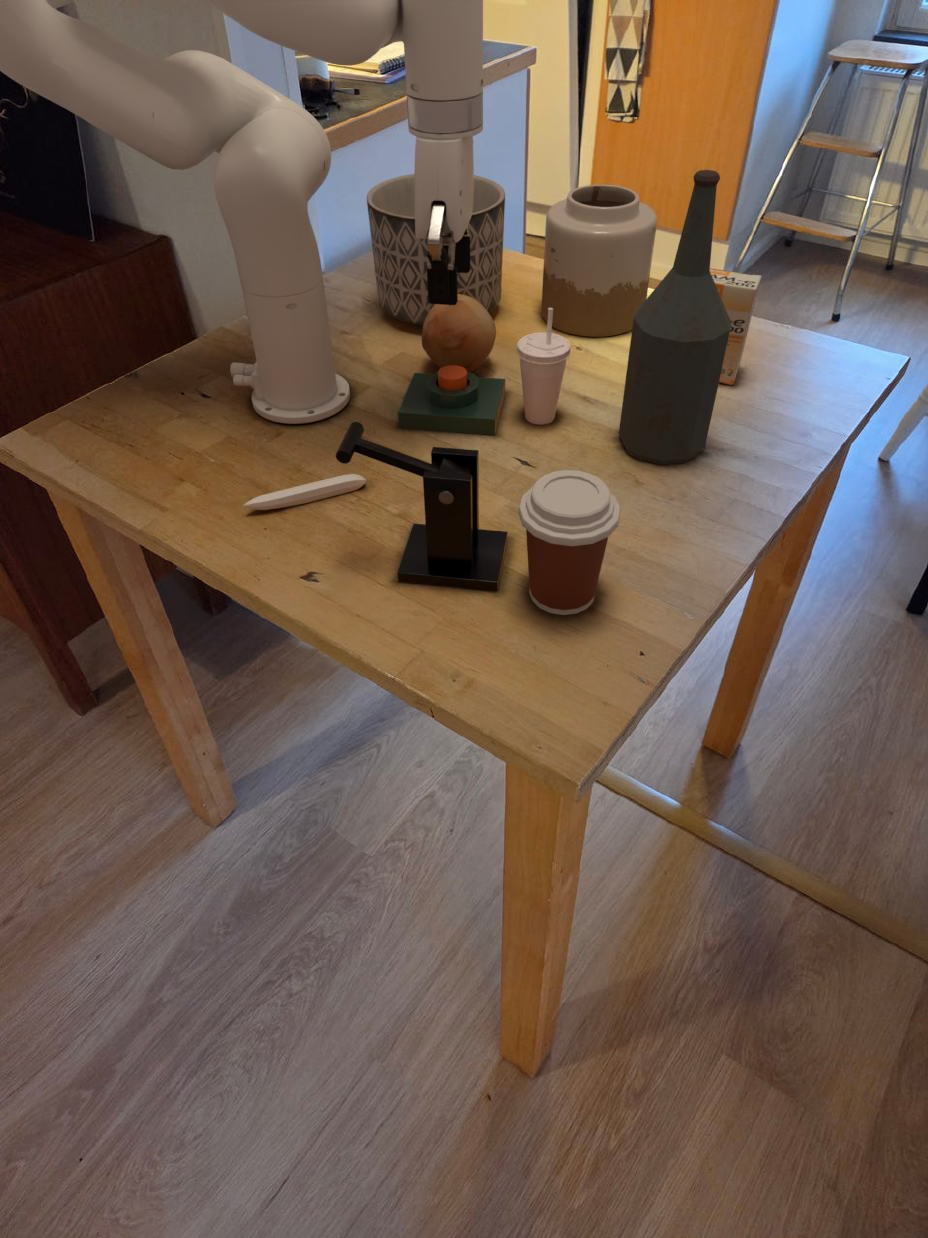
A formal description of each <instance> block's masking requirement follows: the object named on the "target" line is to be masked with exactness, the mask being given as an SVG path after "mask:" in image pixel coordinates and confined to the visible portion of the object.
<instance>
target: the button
mask: <svg viewBox="0 0 928 1238" xmlns="http://www.w3.org/2000/svg"><path fill="white" fill-rule="evenodd" d="M437 372H438V386H439V388H441V389H444V390H450V391H456V390H461V389H464V388H466V387H467V370H466V369H465V368H463V367H461V366H457V365H449V366H444V367H442V368H439V369H438V371H437Z"/></svg>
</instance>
